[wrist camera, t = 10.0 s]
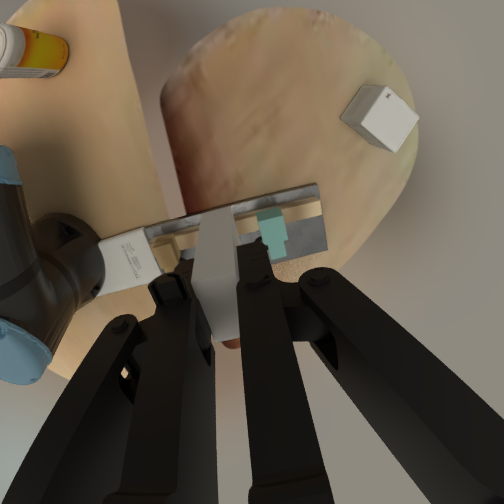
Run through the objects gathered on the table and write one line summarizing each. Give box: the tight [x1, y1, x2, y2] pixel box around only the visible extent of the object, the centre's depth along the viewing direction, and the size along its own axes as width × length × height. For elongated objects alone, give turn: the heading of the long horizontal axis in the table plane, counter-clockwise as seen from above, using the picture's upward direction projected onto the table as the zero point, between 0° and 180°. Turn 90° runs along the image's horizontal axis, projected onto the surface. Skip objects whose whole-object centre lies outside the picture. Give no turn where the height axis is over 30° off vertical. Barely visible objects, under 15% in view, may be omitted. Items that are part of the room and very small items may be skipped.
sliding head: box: [255, 207, 288, 260], centre depth 42 cm, size 3×6×5 cm, turn 14°
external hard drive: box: [96, 227, 163, 297], centre depth 45 cm, size 2×8×12 cm
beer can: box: [0, 23, 68, 78], centre depth 25 cm, size 6×6×15 cm
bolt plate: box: [145, 183, 328, 274], centre depth 45 cm, size 24×10×1 cm, turn 104°
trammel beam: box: [149, 196, 322, 273], centre depth 42 cm, size 23×6×5 cm, turn 103°
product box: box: [340, 86, 420, 153], centre depth 36 cm, size 6×6×7 cm
